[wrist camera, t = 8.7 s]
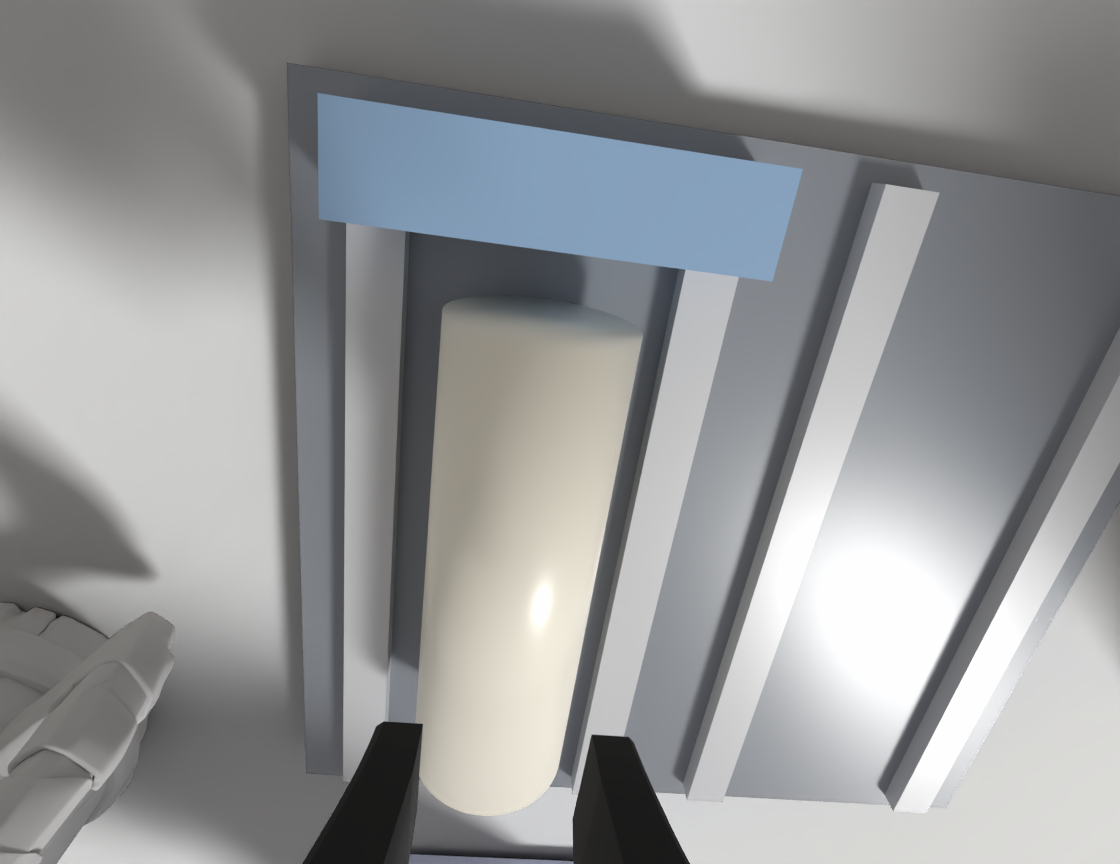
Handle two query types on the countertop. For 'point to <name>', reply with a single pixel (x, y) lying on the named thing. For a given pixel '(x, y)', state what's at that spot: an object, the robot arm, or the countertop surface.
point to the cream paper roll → (514, 537)
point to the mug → (70, 722)
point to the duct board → (714, 427)
